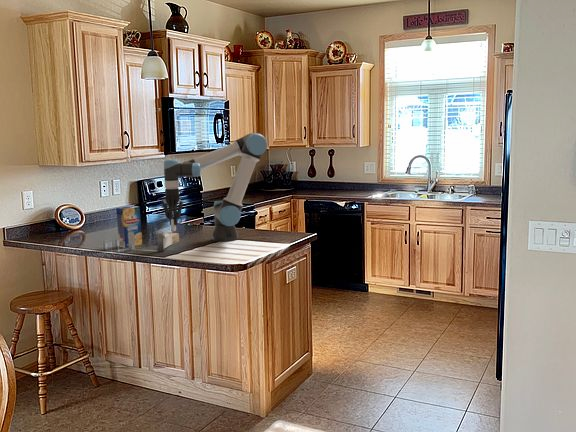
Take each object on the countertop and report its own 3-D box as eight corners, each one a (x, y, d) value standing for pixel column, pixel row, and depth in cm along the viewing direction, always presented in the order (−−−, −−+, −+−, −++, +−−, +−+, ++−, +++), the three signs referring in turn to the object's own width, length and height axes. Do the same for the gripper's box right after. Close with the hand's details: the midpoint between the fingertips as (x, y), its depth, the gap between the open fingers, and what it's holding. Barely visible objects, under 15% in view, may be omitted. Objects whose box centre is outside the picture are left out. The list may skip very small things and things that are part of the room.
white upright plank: (164, 249, 315) (163, 236, 313) (160, 249, 315) (159, 236, 314) (172, 243, 329) (171, 231, 328) (169, 243, 330) (168, 231, 328)
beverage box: (142, 244, 334) (139, 206, 330) (125, 248, 326) (122, 209, 322) (135, 243, 338) (133, 205, 335) (118, 246, 330) (116, 208, 327)
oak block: (179, 241, 340) (178, 233, 340) (171, 244, 333) (170, 235, 332) (167, 241, 344) (167, 232, 343) (159, 243, 336) (159, 235, 336)
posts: (165, 251, 314) (163, 233, 312) (161, 252, 311) (160, 234, 309) (135, 249, 321) (134, 231, 319) (132, 250, 318) (131, 232, 316)
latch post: (135, 249, 321) (134, 231, 319) (131, 250, 318) (130, 232, 316) (132, 249, 321) (131, 231, 320) (129, 250, 319) (127, 232, 317)
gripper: (185, 187, 319) (187, 230, 322) (164, 187, 323) (166, 229, 326) (179, 189, 312) (181, 232, 315) (157, 188, 316) (159, 231, 319)
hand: (173, 230), depth 321 cm, fingers closed
